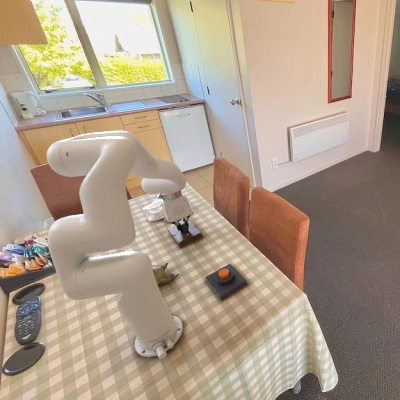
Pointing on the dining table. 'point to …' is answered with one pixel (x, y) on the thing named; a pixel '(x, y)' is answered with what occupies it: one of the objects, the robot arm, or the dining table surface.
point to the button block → (226, 282)
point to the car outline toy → (154, 211)
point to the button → (224, 274)
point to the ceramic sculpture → (162, 274)
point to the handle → (183, 226)
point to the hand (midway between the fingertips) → (183, 229)
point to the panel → (185, 235)
